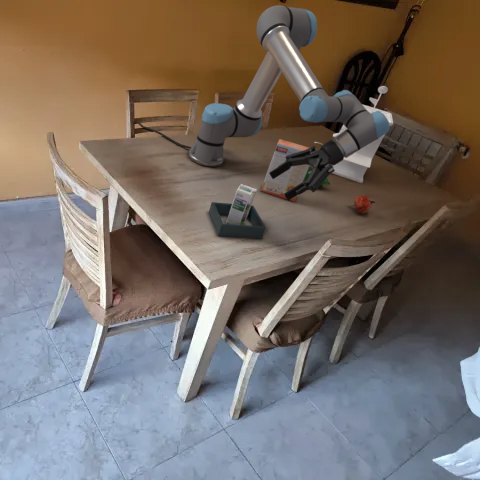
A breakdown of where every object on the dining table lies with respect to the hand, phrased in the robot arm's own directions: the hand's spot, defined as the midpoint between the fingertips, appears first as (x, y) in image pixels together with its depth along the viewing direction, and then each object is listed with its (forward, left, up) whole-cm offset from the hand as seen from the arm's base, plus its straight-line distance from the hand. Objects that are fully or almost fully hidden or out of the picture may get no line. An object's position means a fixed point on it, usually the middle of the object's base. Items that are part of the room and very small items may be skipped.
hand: (278, 186), depth 140 cm
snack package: (+12, +52, -17) cm, 56 cm away
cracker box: (+1, +30, -17) cm, 34 cm away
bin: (-9, -5, -17) cm, 19 cm away
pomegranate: (+33, +39, -17) cm, 54 cm away
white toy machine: (+22, +80, -17) cm, 85 cm away
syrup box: (-9, -5, -17) cm, 20 cm away
